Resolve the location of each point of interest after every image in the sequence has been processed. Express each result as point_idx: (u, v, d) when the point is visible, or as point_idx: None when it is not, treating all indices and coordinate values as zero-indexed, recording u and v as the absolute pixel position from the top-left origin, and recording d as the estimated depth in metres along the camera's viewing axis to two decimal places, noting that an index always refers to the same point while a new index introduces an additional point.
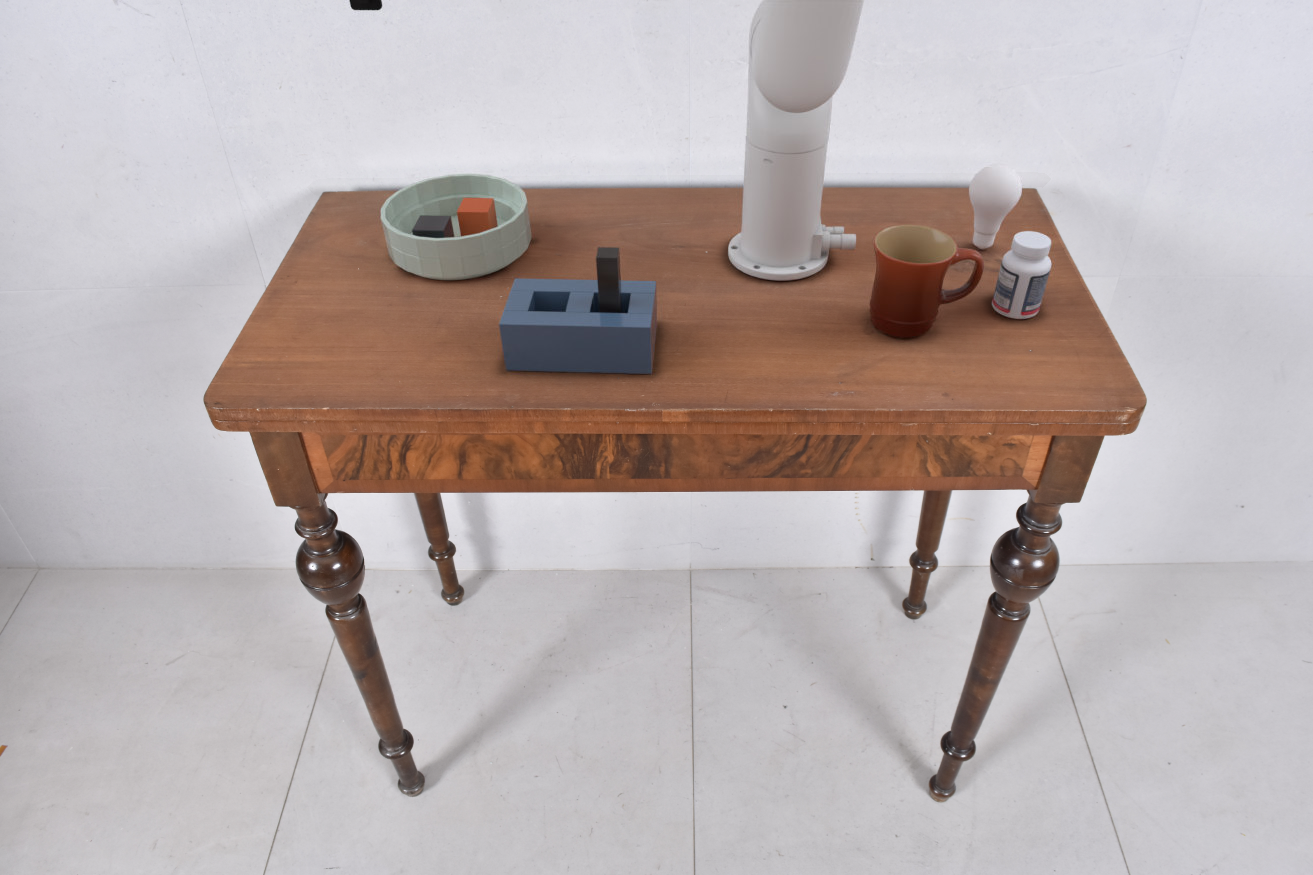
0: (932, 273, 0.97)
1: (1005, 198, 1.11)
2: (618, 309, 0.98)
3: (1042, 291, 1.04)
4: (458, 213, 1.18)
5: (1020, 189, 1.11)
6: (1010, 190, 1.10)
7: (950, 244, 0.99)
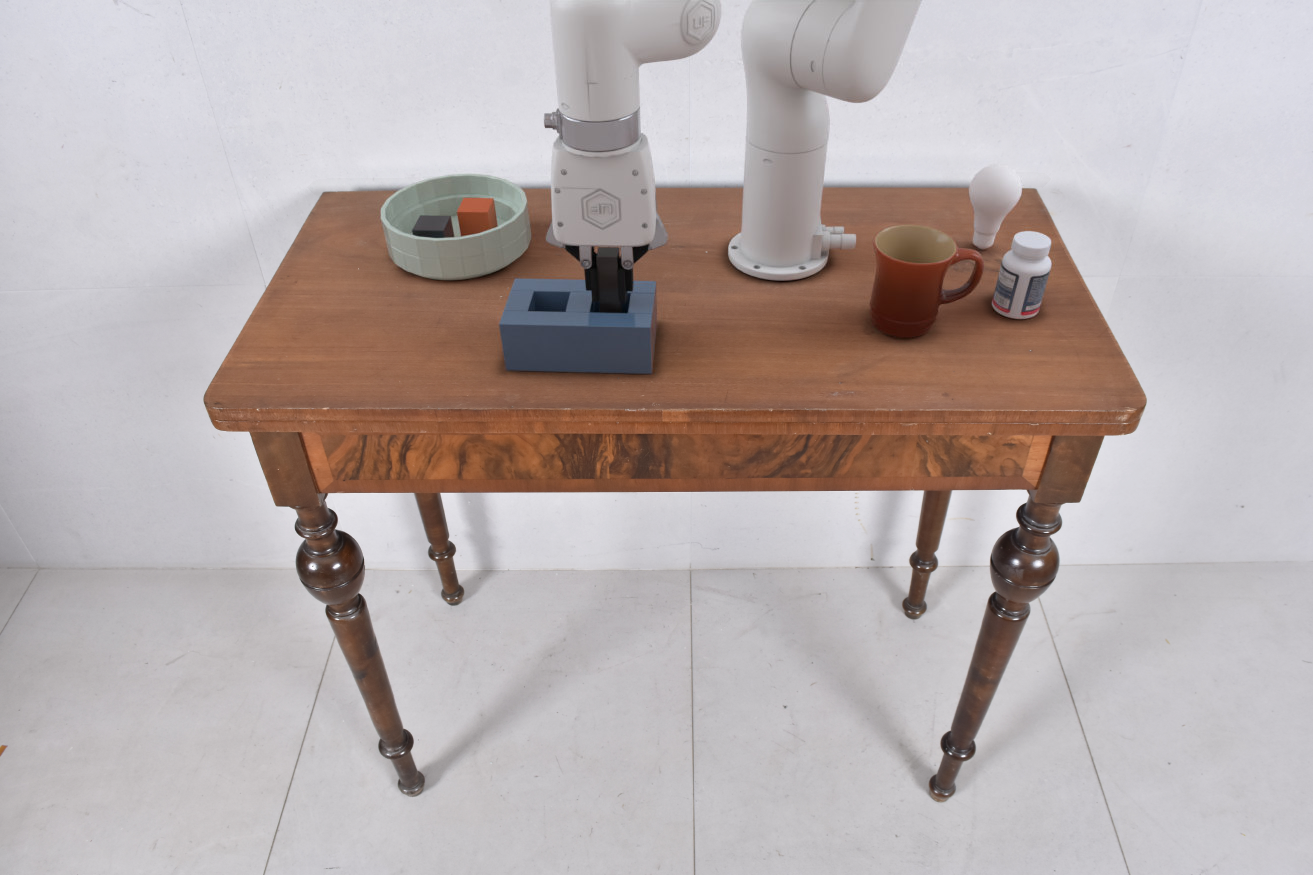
0: (932, 273, 0.97)
1: (1005, 198, 1.11)
2: (618, 309, 0.98)
3: (1042, 291, 1.04)
4: (458, 213, 1.18)
5: (1020, 189, 1.11)
6: (1010, 190, 1.10)
7: (950, 244, 0.99)
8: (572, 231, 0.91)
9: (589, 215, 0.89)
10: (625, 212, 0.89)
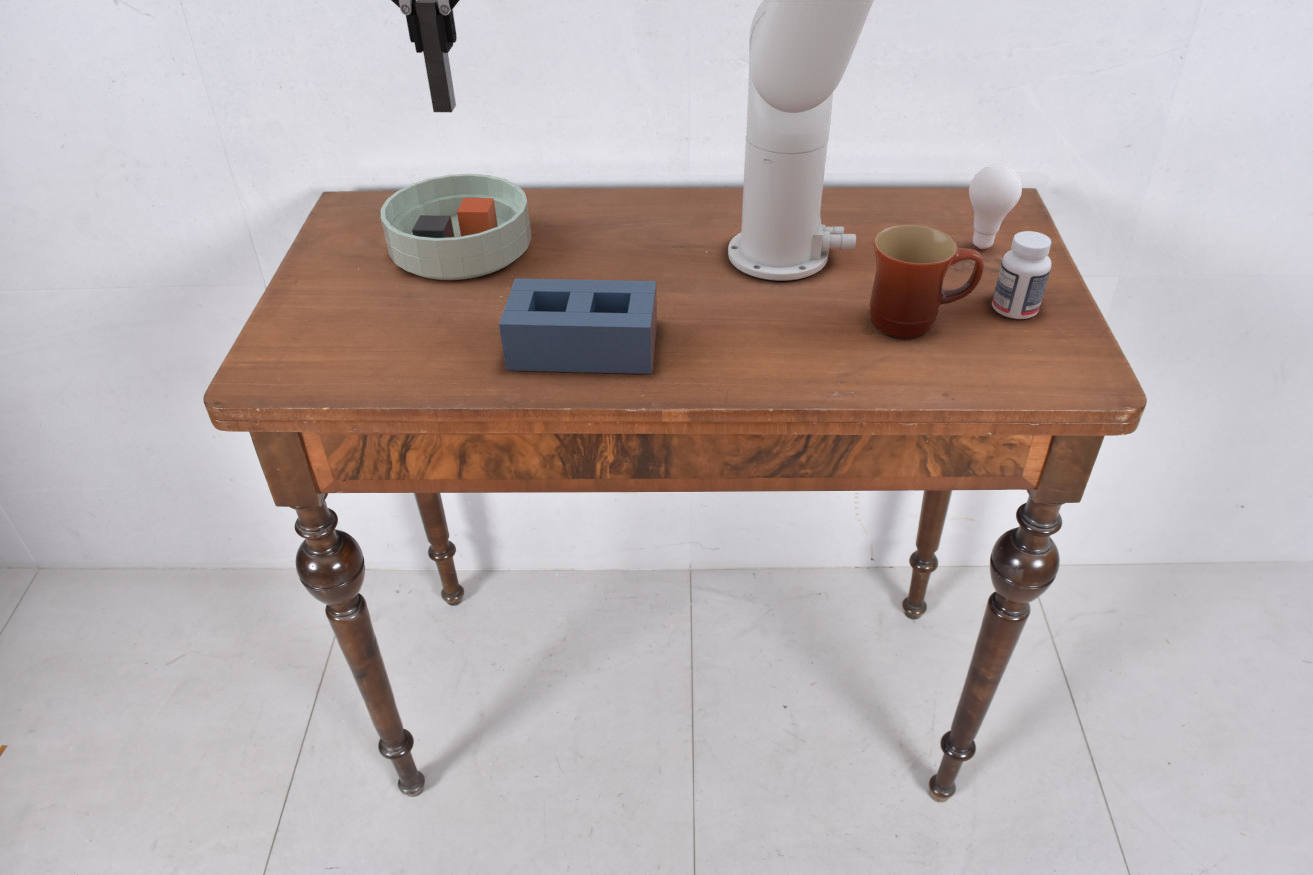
0: (932, 273, 0.97)
1: (1005, 198, 1.11)
2: (442, 61, 1.04)
3: (1042, 291, 1.04)
4: (458, 213, 1.18)
5: (1020, 189, 1.11)
6: (1010, 190, 1.10)
7: (950, 244, 0.99)
8: None
9: None
10: None
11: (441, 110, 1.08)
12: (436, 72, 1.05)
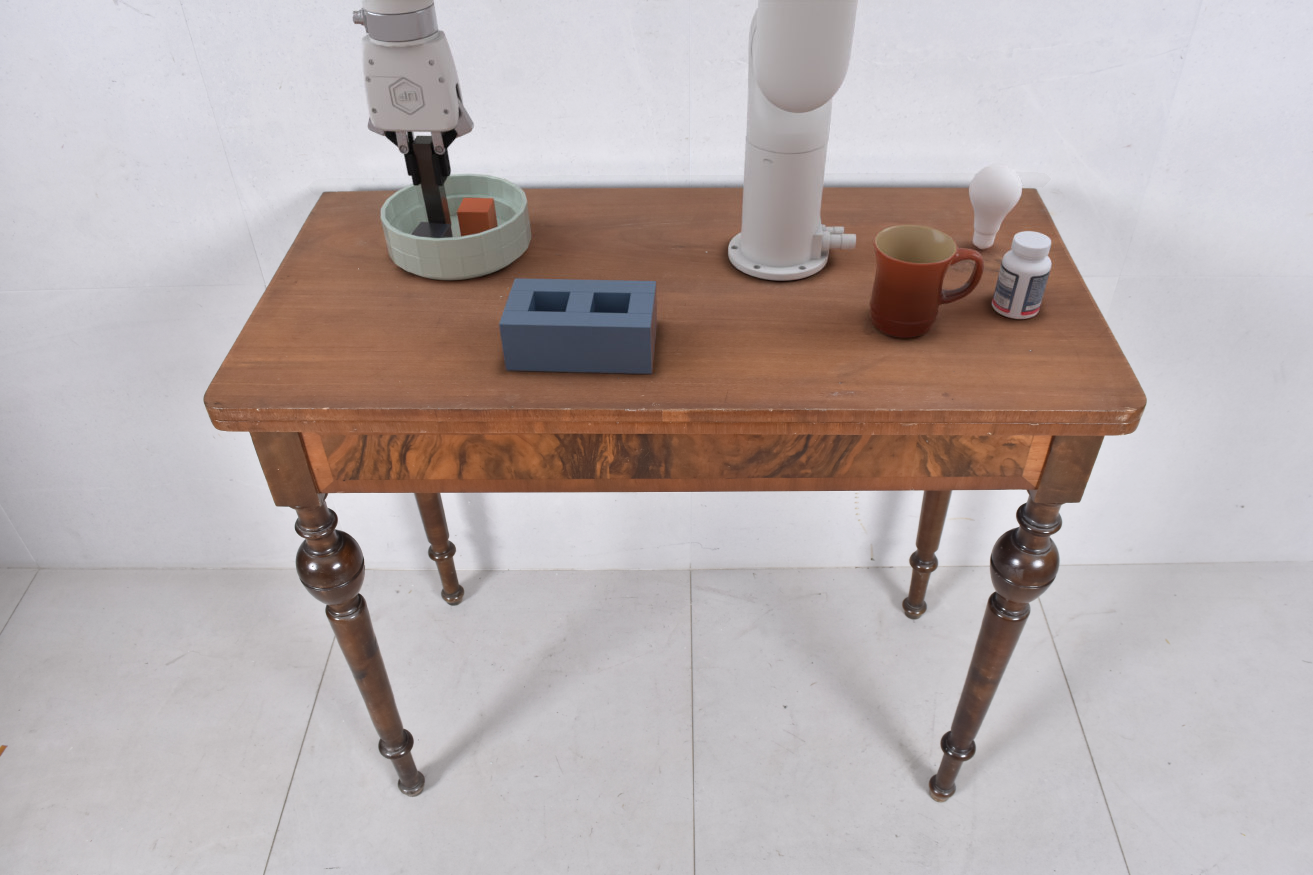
0: (932, 273, 0.97)
1: (1005, 198, 1.11)
2: (438, 191, 1.13)
3: (1042, 291, 1.04)
4: (458, 213, 1.18)
5: (1020, 189, 1.11)
6: (1010, 190, 1.10)
7: (950, 244, 0.99)
8: (385, 117, 1.05)
9: (397, 102, 1.04)
10: (427, 99, 1.03)
11: None
12: (432, 201, 1.14)
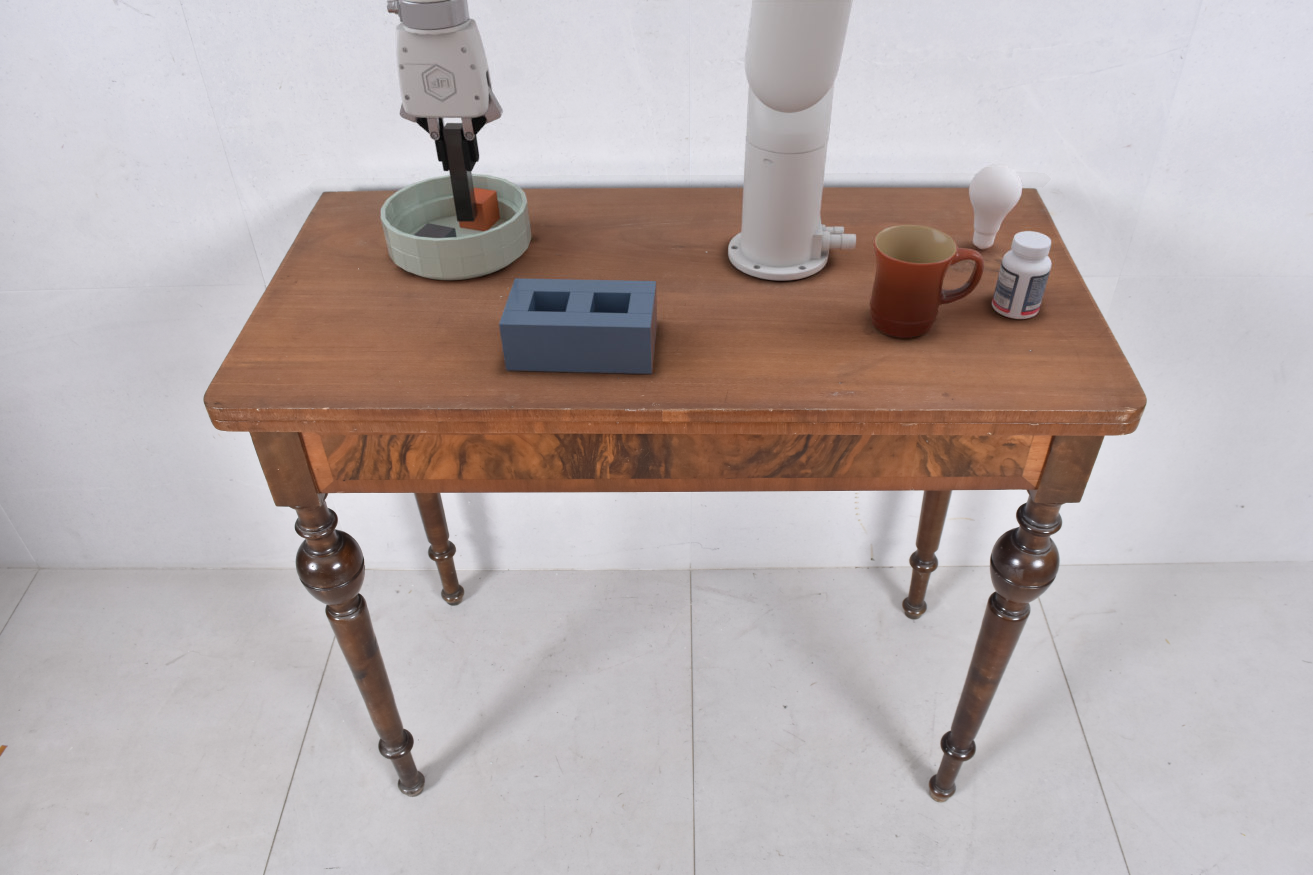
0: (932, 273, 0.97)
1: (1005, 198, 1.11)
2: (466, 178, 1.15)
3: (1042, 291, 1.04)
4: None
5: (1020, 189, 1.11)
6: (1010, 190, 1.10)
7: (950, 244, 0.99)
8: (418, 104, 1.08)
9: (430, 89, 1.07)
10: (459, 85, 1.07)
11: (464, 219, 1.19)
12: (460, 187, 1.16)
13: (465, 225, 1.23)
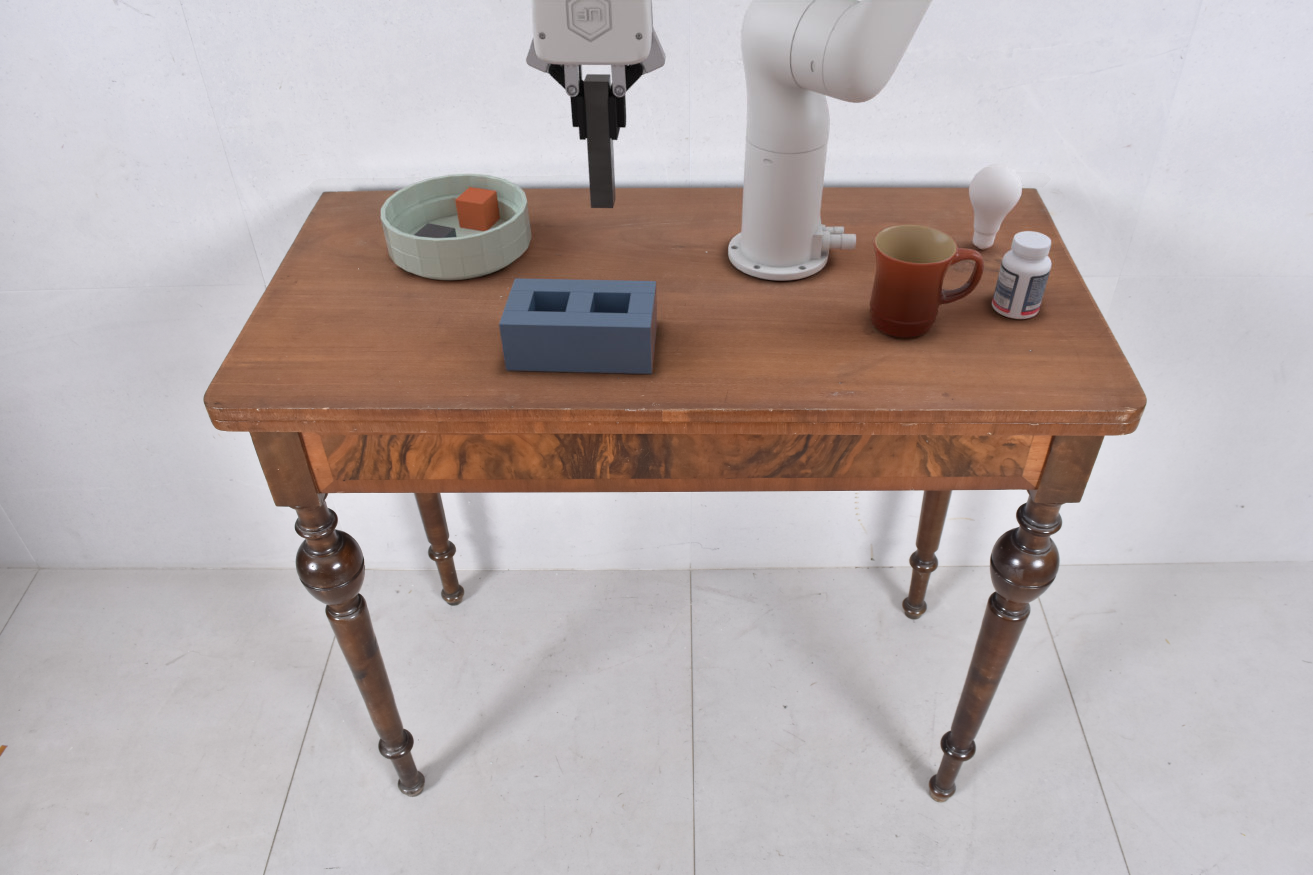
0: (932, 273, 0.97)
1: (1005, 198, 1.11)
2: (609, 149, 0.86)
3: (1042, 291, 1.04)
4: (456, 201, 1.21)
5: (1020, 189, 1.11)
6: (1010, 190, 1.10)
7: (950, 244, 0.99)
8: (556, 44, 0.79)
9: (575, 23, 0.78)
10: (616, 19, 0.77)
11: (600, 205, 0.90)
12: (599, 162, 0.87)
13: (465, 225, 1.23)
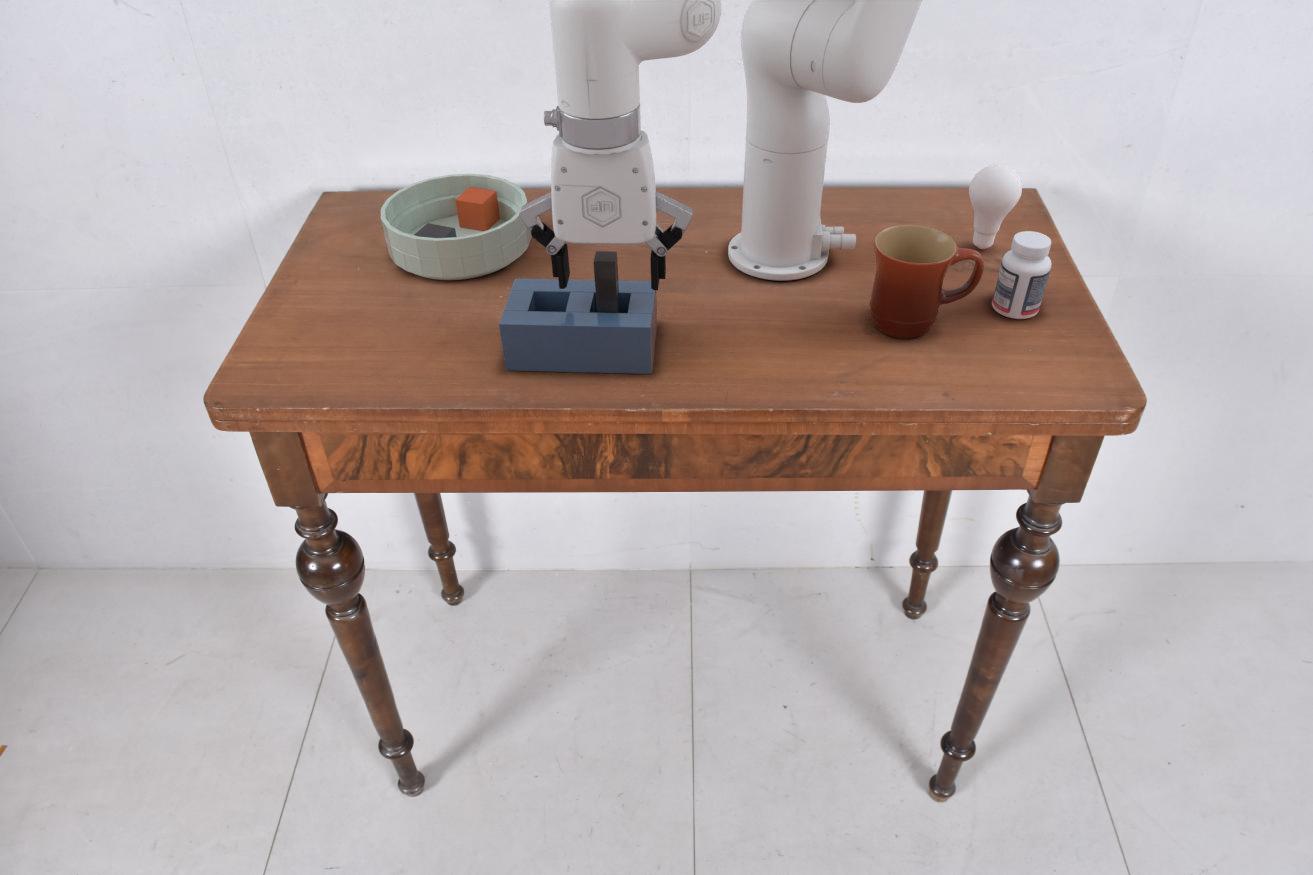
0: (932, 273, 0.97)
1: (1005, 198, 1.11)
2: None
3: (1042, 291, 1.04)
4: (456, 201, 1.21)
5: (1020, 189, 1.11)
6: (1010, 190, 1.10)
7: (950, 244, 0.99)
8: (572, 229, 0.90)
9: (589, 213, 0.89)
10: (625, 210, 0.89)
11: None
12: None
13: (465, 225, 1.23)
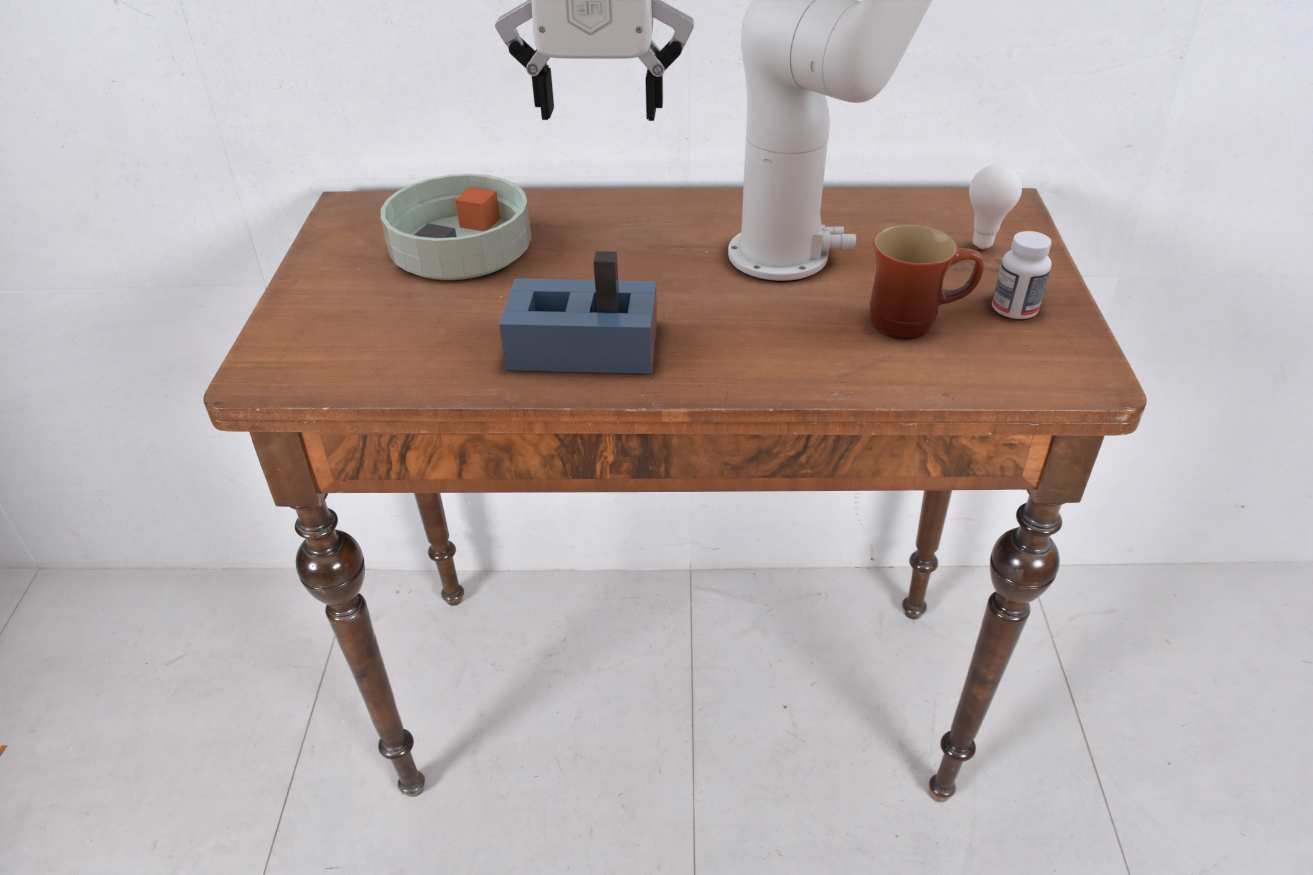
0: (932, 273, 0.97)
1: (1005, 198, 1.11)
2: None
3: (1042, 291, 1.04)
4: (456, 201, 1.21)
5: (1020, 189, 1.11)
6: (1010, 190, 1.10)
7: (950, 244, 0.99)
8: (556, 38, 0.79)
9: (575, 17, 0.78)
10: (616, 12, 0.77)
11: None
12: None
13: (465, 225, 1.23)
